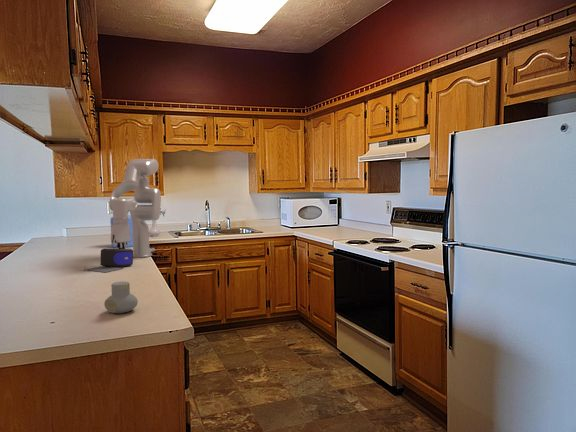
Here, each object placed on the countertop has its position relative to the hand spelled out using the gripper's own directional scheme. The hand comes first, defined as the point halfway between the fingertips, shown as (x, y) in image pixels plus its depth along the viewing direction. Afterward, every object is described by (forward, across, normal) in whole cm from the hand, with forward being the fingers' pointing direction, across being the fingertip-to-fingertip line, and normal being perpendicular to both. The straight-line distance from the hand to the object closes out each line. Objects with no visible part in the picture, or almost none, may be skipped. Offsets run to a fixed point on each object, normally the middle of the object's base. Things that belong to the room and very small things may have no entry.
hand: (121, 255), depth 239 cm
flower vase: (+6, -111, -84) cm, 139 cm away
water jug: (+6, -54, -59) cm, 80 cm away
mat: (+6, +12, 0) cm, 13 cm away
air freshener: (+6, +62, +69) cm, 93 cm away
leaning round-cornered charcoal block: (+6, +4, 0) cm, 7 cm away
